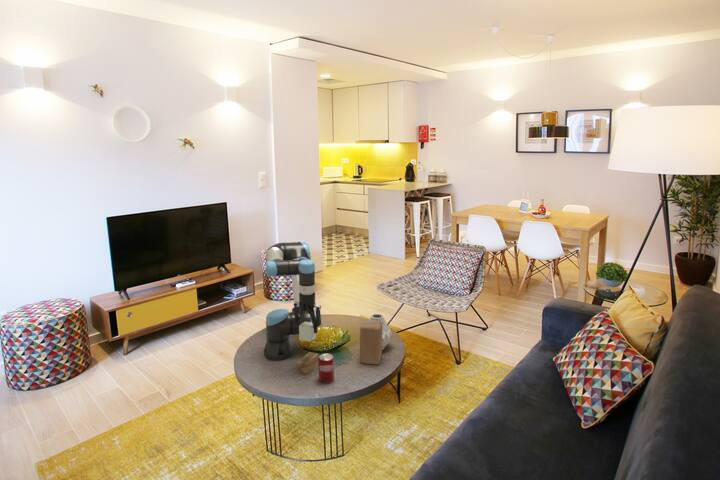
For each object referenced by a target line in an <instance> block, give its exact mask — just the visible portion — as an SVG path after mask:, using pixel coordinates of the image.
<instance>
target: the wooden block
mask: <svg viewBox="0 0 720 480" xmlns="http://www.w3.org/2000/svg"><path fill="white" fill-rule="evenodd" d="M382 353H383V350H382V322H381V321H371V320H369V319H364V320H362V323H361V325H360V327H359V363H360V364H367V365H374V366H375V365H377V366H378V365H380V362H381V358H382V356H383V355H382Z"/></svg>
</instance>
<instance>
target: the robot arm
mask: <svg viewBox="0 0 720 480" xmlns="http://www.w3.org/2000/svg"><path fill="white" fill-rule="evenodd" d="M310 249H311V248H310V246H309V243H307V242H306V241H297V242H295V241H294V242H278V243H275V244H272V245H271V246H270V247H269V248H268V249H267V250H266V252H265V260H266V262H265V274H266V277H270V278H271V277H273V278H275V277H286V276H287V277H288V276H291V283H292V293H293V294H292V295H293V308H292V309H291V312H290V311H289V310H288V309H286V308H279V309H273V310H272V311H270V312H268V313H267V314H266V317H265V325H266V327H265V329H266V330H265V332H266V334H265V335H266V342H265V345H264V348H263V357H264V358H266V359H267V360H270V361H282V360H286V359H289V358H291V357H292V355H293V354H294V348H293V346H292V343H291V340H290V336H294V335H295V336H296V335H299V326H300V325H301V324H302V323H304V322H311V323H312V324H313V327H312V341H314V340H315V339H317V333H318V328H319V327H320V326H321V325H322V317H321V316H322V315H321V309H322V306H321V305H317V304H316V293H315V292H316V266H315V260H312V259H311V257H312V256H311V250H310Z"/></svg>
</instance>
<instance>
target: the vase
mask: <svg viewBox="0 0 720 480" xmlns="http://www.w3.org/2000/svg"><path fill="white" fill-rule="evenodd" d="M368 320H371V321H381V322H382V351H384V349H385V348H386V346H387V345H388V343H389V342H390V339H391V337H392V336H393V333H392V330H391V328H390V327H389V326H388V323H387V321H386V320H385V318H384V315H382V314H380V313H373V314H371V316H370V317H369V319H368Z"/></svg>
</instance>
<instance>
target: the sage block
mask: <svg viewBox="0 0 720 480" xmlns="http://www.w3.org/2000/svg"><path fill="white" fill-rule="evenodd" d="M312 327H313V324H312V323H311V322H304V323H302V324H301V325H300V326H299V334H298V337H299V340H300V341H304V342H310V343H311V342H312V341H313V340H312Z"/></svg>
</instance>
